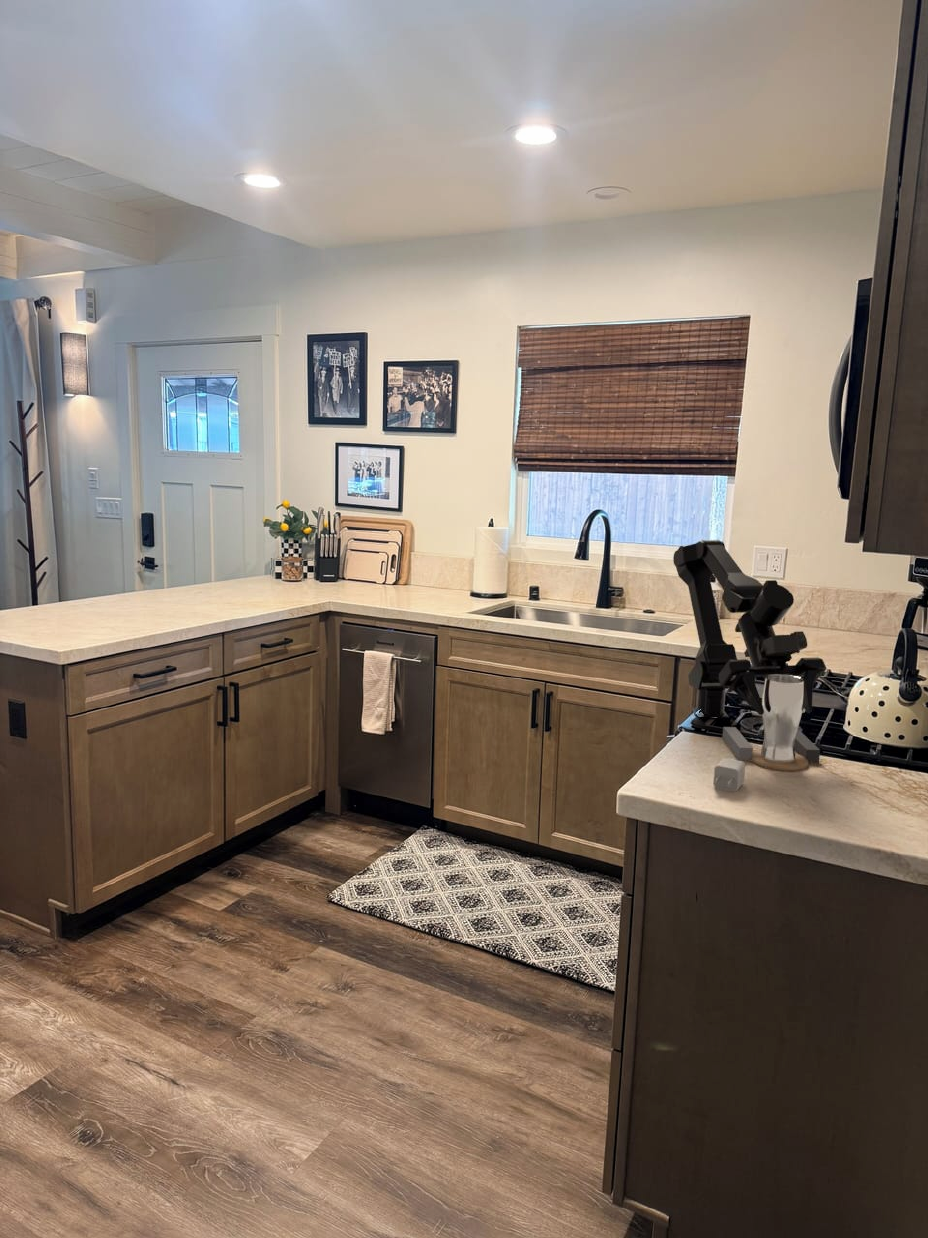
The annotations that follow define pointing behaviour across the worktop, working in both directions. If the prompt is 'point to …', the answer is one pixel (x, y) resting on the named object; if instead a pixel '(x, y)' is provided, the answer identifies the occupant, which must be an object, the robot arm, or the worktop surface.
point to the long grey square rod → (806, 747)
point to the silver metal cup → (781, 716)
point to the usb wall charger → (729, 774)
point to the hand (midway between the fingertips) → (786, 713)
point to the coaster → (794, 766)
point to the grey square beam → (737, 743)
